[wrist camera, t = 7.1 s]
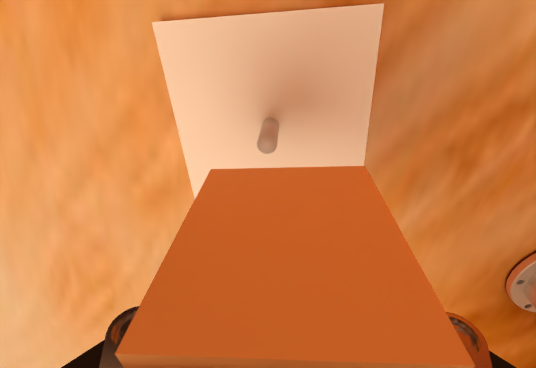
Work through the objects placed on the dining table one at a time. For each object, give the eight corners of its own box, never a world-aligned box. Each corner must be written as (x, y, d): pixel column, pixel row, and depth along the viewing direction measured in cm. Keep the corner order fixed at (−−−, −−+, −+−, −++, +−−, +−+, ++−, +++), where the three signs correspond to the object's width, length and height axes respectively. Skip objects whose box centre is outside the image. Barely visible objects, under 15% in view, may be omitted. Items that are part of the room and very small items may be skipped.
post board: (376, 5, 22) (407, -3, 16) (355, 193, 31) (369, 231, 25) (161, 22, 23) (121, 21, 18) (201, 196, 32) (183, 232, 27)
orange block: (364, 165, 10) (475, 365, 4) (349, 273, 13) (400, 478, 7) (210, 168, 11) (114, 353, 5) (229, 272, 14) (186, 464, 8)
